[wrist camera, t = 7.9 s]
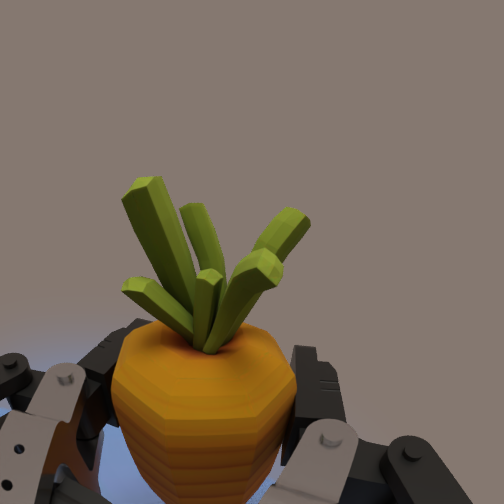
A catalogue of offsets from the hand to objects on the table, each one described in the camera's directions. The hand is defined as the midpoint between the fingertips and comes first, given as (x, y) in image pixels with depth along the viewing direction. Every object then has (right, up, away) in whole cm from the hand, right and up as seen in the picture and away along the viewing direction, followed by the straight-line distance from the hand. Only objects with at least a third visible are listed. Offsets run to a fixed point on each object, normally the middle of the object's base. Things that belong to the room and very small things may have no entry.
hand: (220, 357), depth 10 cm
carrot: (-1, -9, 0) cm, 10 cm away
